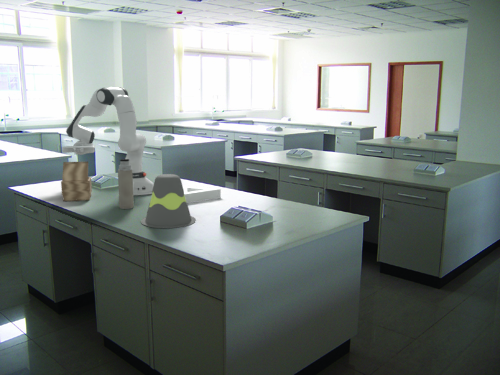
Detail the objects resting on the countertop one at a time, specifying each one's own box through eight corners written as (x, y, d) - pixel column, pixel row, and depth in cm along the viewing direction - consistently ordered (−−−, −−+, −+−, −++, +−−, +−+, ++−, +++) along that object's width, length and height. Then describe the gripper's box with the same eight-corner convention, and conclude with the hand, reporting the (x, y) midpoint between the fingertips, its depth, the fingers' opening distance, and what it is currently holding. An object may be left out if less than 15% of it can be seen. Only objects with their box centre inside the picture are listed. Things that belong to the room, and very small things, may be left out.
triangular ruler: (179, 205, 264) (179, 195, 263) (158, 197, 284) (158, 187, 283) (220, 198, 283) (220, 189, 282) (198, 191, 303) (198, 182, 302)
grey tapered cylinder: (160, 212, 246) (159, 169, 242) (205, 217, 236) (204, 173, 232) (129, 224, 221) (127, 177, 216) (178, 231, 211) (177, 182, 206)
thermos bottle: (122, 205, 260) (120, 158, 254) (135, 205, 259) (133, 158, 253) (117, 208, 252) (115, 160, 246) (130, 209, 251) (128, 160, 246)
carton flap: (88, 162, 277) (88, 161, 276) (87, 180, 269) (87, 179, 268) (63, 162, 273) (63, 161, 272) (62, 181, 265) (62, 180, 265)
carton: (92, 195, 285) (91, 176, 283) (90, 200, 272) (89, 181, 269) (65, 196, 281) (64, 177, 279) (62, 201, 267) (60, 181, 265)
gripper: (63, 143, 296) (60, 145, 283) (95, 143, 302) (93, 145, 289) (63, 153, 298) (60, 155, 285) (95, 152, 303) (94, 155, 290)
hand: (77, 150), depth 287 cm, fingers closed
